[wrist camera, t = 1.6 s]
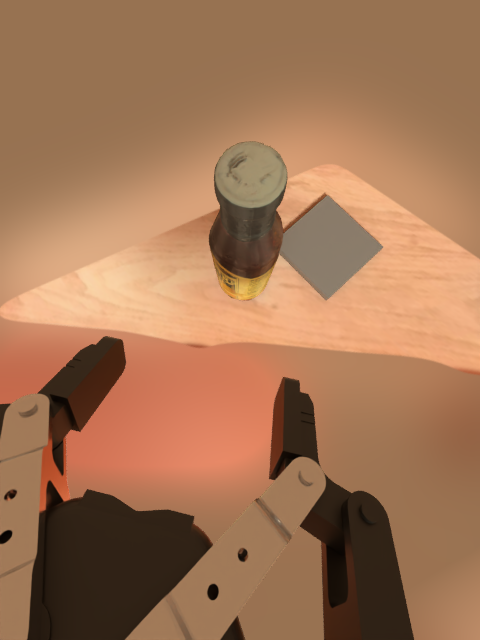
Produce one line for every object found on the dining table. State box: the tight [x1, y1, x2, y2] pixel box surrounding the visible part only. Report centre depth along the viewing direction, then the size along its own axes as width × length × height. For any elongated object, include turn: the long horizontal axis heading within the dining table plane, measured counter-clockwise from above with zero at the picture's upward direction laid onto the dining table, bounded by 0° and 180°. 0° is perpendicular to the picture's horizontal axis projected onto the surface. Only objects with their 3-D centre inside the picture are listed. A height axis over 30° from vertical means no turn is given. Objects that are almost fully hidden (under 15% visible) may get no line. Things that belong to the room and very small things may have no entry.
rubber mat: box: [279, 195, 383, 300], centre depth 34 cm, size 10×10×1 cm
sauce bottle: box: [209, 142, 287, 300], centre depth 24 cm, size 6×6×20 cm
